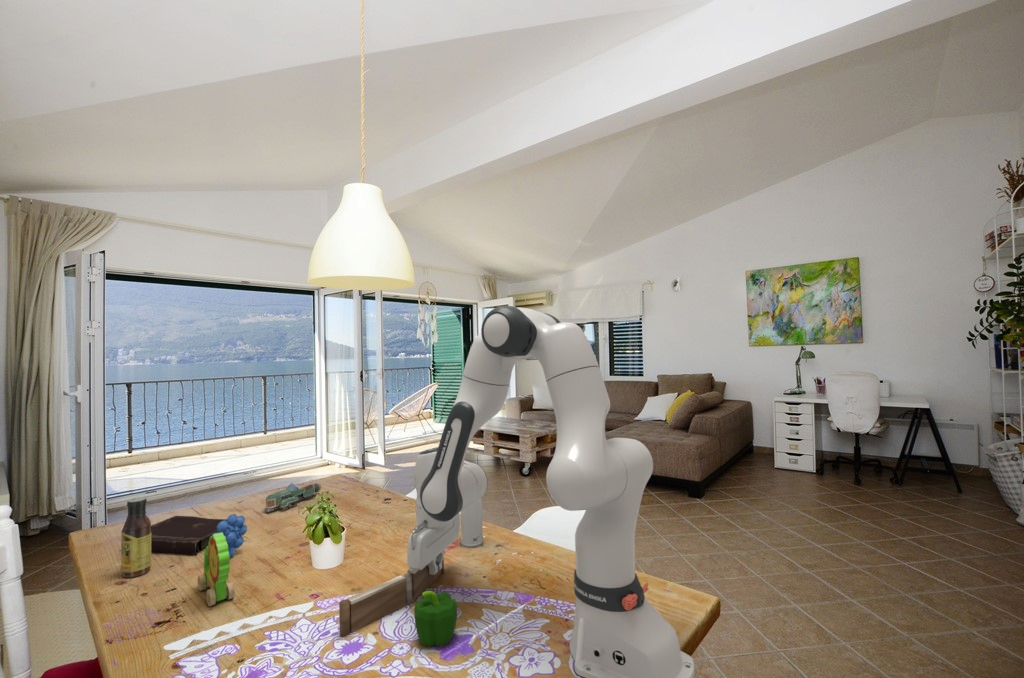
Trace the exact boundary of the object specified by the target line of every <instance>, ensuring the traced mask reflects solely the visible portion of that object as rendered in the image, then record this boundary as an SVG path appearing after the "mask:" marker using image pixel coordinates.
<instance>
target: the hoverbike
mask: <svg viewBox="0 0 1024 678" xmlns="http://www.w3.org/2000/svg"><path fill="white" fill-rule="evenodd" d="M311 483H312V484H311ZM321 489H322V485H321V484H320V483H314V480H313V479H310V480H309V484H308V485H305V486H303V487H300V488H299V487H298V486H296V485H295V483H293V482H291V483H290V484H289V485H288V486H287V487H286V488H285V489H282V490H280V491H277V492H275V493H270V495H267V496H266V498H265V507H264V509H263V511H264V512H265V513H271V514H273V513H274V510H275V509H276V511H275V512H278V506H279V505H280V506H279V508H283V510H284V511H286V510H288V508H289V506H291V505H292V506H293V507H296V506H298V502H301V501H303V500H306V501H307V500H308V499H312V498H313V497H315V494H316V493H319V492H320V491H321Z"/></svg>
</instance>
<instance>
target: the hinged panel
mask: <svg viewBox="0 0 1024 678" xmlns="http://www.w3.org/2000/svg"><path fill="white" fill-rule="evenodd" d="M444 557H445V556H444ZM444 557H443V561H442V569H440V570H439V571H438V572H437V573H436V574H435V575H431V574H429V567H428V565H427V566H425V567H424V568H423V569H422V570H414V569H410V568H409V567H408V569H407V571H406V573H411V574H412V601H415V600H416V599H418V598H419V597H420V595H421V594H422V593H423V592H425V590H427V588H428V587H429V586H430V585H431V584H432V583H433V582H434V581H436V579H438V577H439V576H441V574H443V573H444V572H445V564H444V563H445V561H444V559H445V558H444Z"/></svg>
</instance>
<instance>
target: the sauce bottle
mask: <svg viewBox="0 0 1024 678" xmlns="http://www.w3.org/2000/svg"><path fill="white" fill-rule="evenodd" d="M147 501H148V500H147V497H145V496H140V497H139V496H137V497H133V498H131V499H128V500H127V501H126V506H127V517H126V520H125V522H124V525H123V527H122V530H121V546H120V547H121V551H120V552H121V553H120V554H121V556H120V557H121V574H122V575H121V576H122V577H124V578H127V579H130V578H136V577H140V576H143V575H145V574H147V573H148V572H150V570H151V565H152V553H151V526H152V522H151V520H150V518H149V517H148V515H146V514H147V511H146V507H147V506H146V504H147Z"/></svg>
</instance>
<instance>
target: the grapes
mask: <svg viewBox="0 0 1024 678" xmlns="http://www.w3.org/2000/svg"><path fill="white" fill-rule="evenodd" d="M245 521H246V518H245V516H244V515H239V516H238V515H237V514H235V513H232V514H230V515H229V516H228V517H227V520H226V521H225V520H224V521H221V522H220V523H219V524H218V525H217V533H221V532H222V533H223V534H224V536H225V538H226V542H227V544H228V551H229V556H230V559H231V558H233V557H234V555H235V553H236V549H239V548H240V547H242V546H243V544H244V541H245V540H244V537H243V536H244V535H245V534H246V533H247V531H248V526H247V525H246V524H245ZM217 533H214V534H217Z"/></svg>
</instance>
